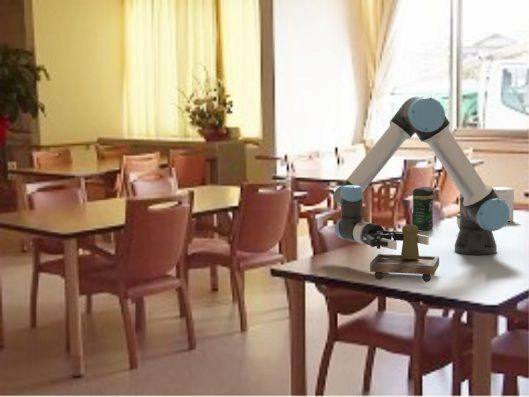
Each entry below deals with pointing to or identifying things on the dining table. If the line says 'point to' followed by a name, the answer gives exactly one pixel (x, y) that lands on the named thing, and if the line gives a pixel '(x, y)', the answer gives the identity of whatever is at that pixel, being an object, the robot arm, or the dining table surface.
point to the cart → (404, 265)
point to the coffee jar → (423, 208)
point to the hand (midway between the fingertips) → (412, 243)
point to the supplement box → (506, 198)
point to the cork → (410, 242)
